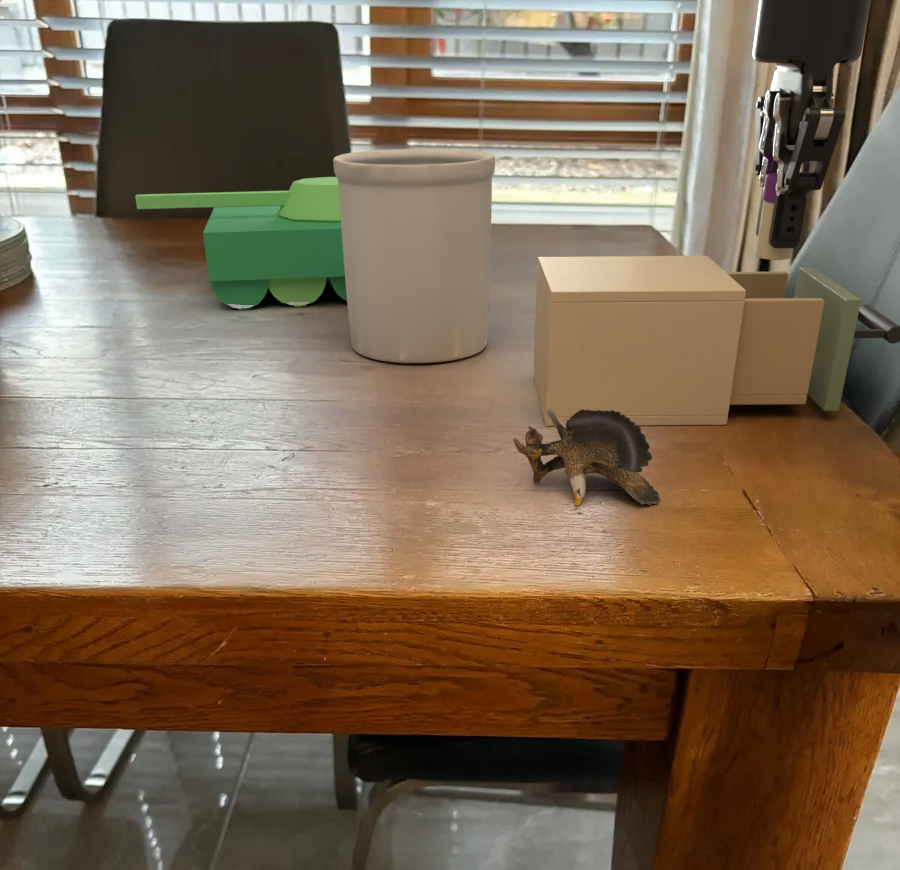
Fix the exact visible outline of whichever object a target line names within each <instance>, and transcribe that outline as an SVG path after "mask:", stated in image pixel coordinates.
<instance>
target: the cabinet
mask: <svg viewBox="0 0 900 870" xmlns="http://www.w3.org/2000/svg"><path fill="white" fill-rule="evenodd" d="M726 272H727V271H725V270H724V269H723V268H722V267H721V266H720V265H718V264H717V263H716V262H715V261H714V260H713V259H712V258H710V257H709V256H708V255H626V256H625V255H621V256H619V255H618V256H617V255H615V256H613V255H612V256H611V255H610V256H607V255H606V256H602V255H601V256H599V255H598V256H538V257H537V270H536V296H535V317H534V318H535V321H534V323H535V324H534V349H533V371H532V373H533V374H532V375H533V376H532V378H533V381H534V384H535V390H536V394H537V398H538V401H539V405H540V410H541V414H542V418H543V421H544V426H545V427H555V426H554V425H553V423H552V420H551V419H550V417H549V416H548V415H547V409H551V410H552V411H553V412H554V414H555V415H556V417H557V419H558V420H559V421H560V422H561V423H562V424H564V425H565V426H566V423H567V420H569V419H570V417H572V416H573V415H574V414H575V413H577V412H578V411H579V410H582V409H583V410H591V411H593V410H594V411H597V410H601V411H611V410H614V411H616V412H620V413H621V415H623V414H624V415H625V416H626V417H628V418H630V419H631V421H632V422H635V423H636V426H726V425H728V418H729V413H730V412H729V411H730V406H731V405H730V398H731V391H732V385H733V378H734V371H735V364H736V357H737V350H738V343H739V336H740V329H741V323H742V316H743V309H744V300H745V295H746V290H745V289H744V288H743V287H742V286H740V285H739V284H738V283H737V282H736V281H735V280H734V279H733V278H732V277H730V276H729V275H728V274H727V273H726Z"/></svg>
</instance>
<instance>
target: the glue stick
mask: <svg viewBox="0 0 900 870" xmlns="http://www.w3.org/2000/svg"><path fill="white" fill-rule="evenodd" d="M777 174H778V173H769V174H767V175H766V178H765V185H764V187H763V189H764V191H763V206H762V213H761V220H760V226H759V233H758V237H757V239H756V240H757V241H756V247H755V253H754V255H755V257H757V258H758V259H762V260H768V261H785V260H790V259H791V258H792V257H793V251H794V248H774V247H772V246H771V245H770V244H769V234H770V227H771V221H772V214H773V208H774V201H775V196H777V195H776V184H777Z"/></svg>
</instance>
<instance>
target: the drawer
mask: <svg viewBox="0 0 900 870" xmlns="http://www.w3.org/2000/svg"><path fill="white" fill-rule="evenodd" d="M725 272H726V273H727V274H728V275H729V276H730V277H732V278H733V279H734V280H735V281H736V282H737V283H738V284H739V285H740V286H742V287H743V288H744V289H745V290H746V295H745V300H744V309H743V316H742V323H741V329H740V336H739V343H738V350H737V357H736V364H735V371H734V378H733V385H732V391H731V398H730V405H729V406H745V405H746V406H747V405H749V406H753V405H754V406H755V405H756V406H759V405H762V406H763V405H764V406H765V405H767V406H768V405H769V406H770V405H806V404H807V399H808V398H807V397H808V396H809V397H810V398H811V399H812V400H813V401H814V402H815V403H816V404H817V406H819V407H820V408H821V409H822V410H823V411H824V412H825V411H826V412H827V411H832V412H833V411H839V410H840V406H841V401H842V396H843V392H844V386H845V382H846V377H847V372H848V367H849V362H850V358H851V354H852V348H853V342H854V339H884V340H885V341H887V342H888V343H889V344H897V343H900V325H899V324H898V323H896V322H895V321H894V320H892V319H890V318H888V317H887V316H886V315H884V314H882V313H881V312H880V311H879V310H877V309H875V308H874V307H873V306H870V305H869V304H866V303H864V304H862V299H861V298H860V297H858V296H856V295H855V294H854V293H852V292H851V291H849V290H847V289H846V288H844V287H843V286H842V285H840V284H839V283H837V282H835V281H834V280H833V279H831V278H830V277H828V276H827V275H826V274H824V273H822V272H821V271H820V270H818V269H817V268H815V267H813V266H799V268H798V272H797V278H796V284H795V290H794V296H793V297H786V292H787V285H788V279H789V273H788V272H787V271H725ZM861 304H862V305H861ZM858 322H860V323H861V324H863V325H864V326H866V327H867V328H856V327H857V323H858Z"/></svg>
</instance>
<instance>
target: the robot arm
mask: <svg viewBox="0 0 900 870" xmlns="http://www.w3.org/2000/svg"><path fill="white" fill-rule="evenodd" d="M871 3H872V0H759V2H758V10H757V15H756V24H755V30H754V39H753V46H752V58H753V59H754V60H755V61H756V62H757V63H765V64H776V67H775V69H774V75H773V78H772V81H771V85H770V90H767V92H766V94H765V96H758V98H757V101H756V103H755V138H754V141H755V142H754V165H753V171H754V176H756V177H757V176H758V183H759V187H760V188H762V189H761V194H760V201H759V206H758V207H759V208H758V214H757V222H756V228H755V235H756V237H757V238H758V233H759V226H760V220H761V213H762V206H763V191H764V185H765V178H766V175H767V174H769V173H778V174H777V184H776V195H777V196H775V201H774V208H773V214H772V221H771V227H770V234H769V244H770V245H771V246H772V247H774V248H793V249H795V248H797V247H798V246H799V245H800V241H801V236H802V230H803V223H804V218H805V214H806V213H805V212H806V207H807V206H806V205H807V201H808V197H810V196H811V195H812V194H813V191H820V190H821V189H822V187H823V184H824V181H825V178H826V175H827V172H828V170H829V166H830V163H831V161H832V157H833V154H834V151H835V148H836V145H837V142H838V139H839V137H840V133H841V130H842V127H843V124H844V121H845V118H846V109H845V107H844V106H843V107H837V106H835V107H834V102H835V94H834V69H835V66H836V65H837V64H851V63H855V62H856V61H857V60H858V59H860V57H861V55H862V53H863V47H864V41H865V36H866V35H865V34H866V30H867V26H868V20H869V14H870V9H871ZM802 165H803V171H801V169H802Z"/></svg>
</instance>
